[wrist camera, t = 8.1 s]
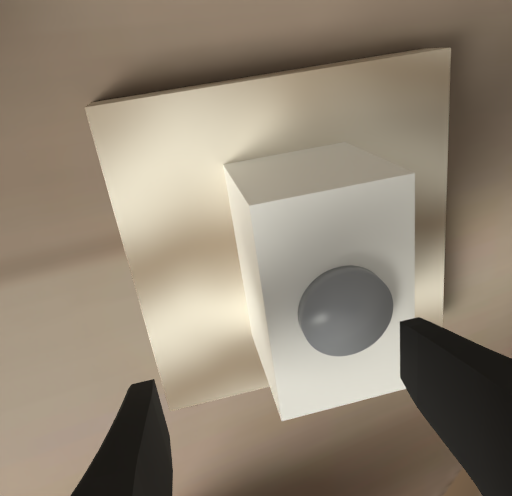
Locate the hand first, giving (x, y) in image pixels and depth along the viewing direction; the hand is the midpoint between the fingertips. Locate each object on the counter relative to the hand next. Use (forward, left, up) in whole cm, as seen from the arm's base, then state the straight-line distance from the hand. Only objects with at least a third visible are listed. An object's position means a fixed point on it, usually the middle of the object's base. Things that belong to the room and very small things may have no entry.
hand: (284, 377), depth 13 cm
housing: (+1, -3, -7) cm, 8 cm away
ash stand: (+1, -3, -9) cm, 10 cm away
